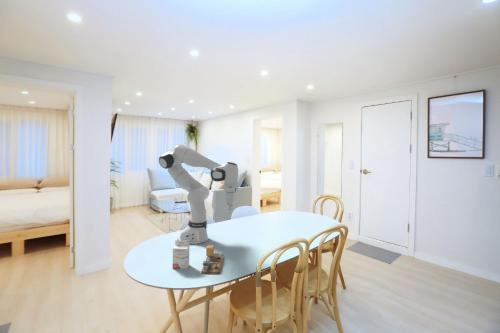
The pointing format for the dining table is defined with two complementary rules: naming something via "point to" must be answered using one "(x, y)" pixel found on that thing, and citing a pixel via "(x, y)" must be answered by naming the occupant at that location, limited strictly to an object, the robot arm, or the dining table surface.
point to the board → (213, 264)
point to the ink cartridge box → (181, 254)
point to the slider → (211, 251)
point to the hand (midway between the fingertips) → (230, 208)
